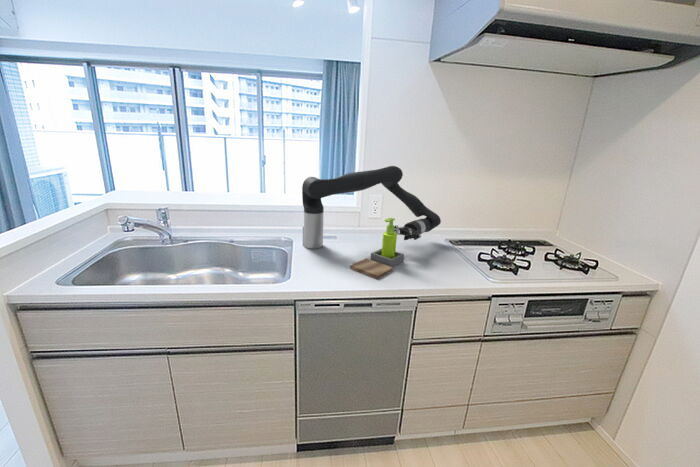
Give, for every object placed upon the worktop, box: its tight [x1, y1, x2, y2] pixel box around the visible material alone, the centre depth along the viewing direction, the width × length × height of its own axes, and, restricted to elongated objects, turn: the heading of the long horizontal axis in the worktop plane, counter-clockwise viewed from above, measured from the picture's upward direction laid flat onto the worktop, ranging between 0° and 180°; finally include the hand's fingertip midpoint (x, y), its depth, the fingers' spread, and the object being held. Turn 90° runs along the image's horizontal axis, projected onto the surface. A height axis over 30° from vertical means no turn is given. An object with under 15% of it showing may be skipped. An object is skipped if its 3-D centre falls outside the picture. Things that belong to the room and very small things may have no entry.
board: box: [349, 257, 394, 280], centre depth 132 cm, size 14×11×2 cm
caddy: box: [369, 248, 405, 269], centre depth 140 cm, size 11×10×4 cm
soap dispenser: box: [381, 217, 398, 259], centre depth 137 cm, size 6×7×20 cm
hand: (396, 235), depth 142 cm, fingers open, 8 cm apart
